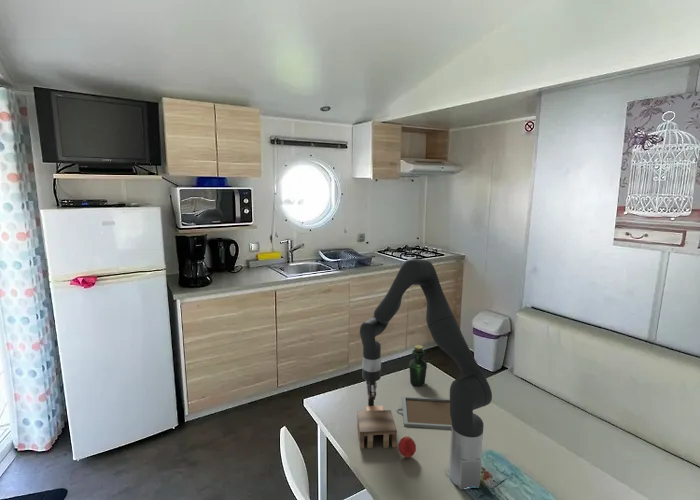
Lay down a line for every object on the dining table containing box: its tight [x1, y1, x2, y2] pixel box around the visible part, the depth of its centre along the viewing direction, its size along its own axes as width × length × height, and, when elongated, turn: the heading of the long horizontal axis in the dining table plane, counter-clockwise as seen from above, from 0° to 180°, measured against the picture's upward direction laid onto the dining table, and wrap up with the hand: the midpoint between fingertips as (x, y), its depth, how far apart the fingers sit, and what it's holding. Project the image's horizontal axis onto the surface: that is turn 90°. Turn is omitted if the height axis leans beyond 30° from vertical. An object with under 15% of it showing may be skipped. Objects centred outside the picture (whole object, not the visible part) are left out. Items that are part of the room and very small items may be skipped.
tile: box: [365, 405, 384, 411], centre depth 144 cm, size 13×6×2 cm, turn 4°
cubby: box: [356, 409, 398, 449], centre depth 134 cm, size 12×13×6 cm
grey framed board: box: [395, 395, 452, 430], centre depth 148 cm, size 19×2×30 cm
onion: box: [397, 435, 417, 459], centre depth 123 cm, size 6×6×8 cm
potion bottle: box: [408, 344, 428, 388], centre depth 170 cm, size 8×8×18 cm
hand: (370, 405), depth 151 cm, fingers closed
